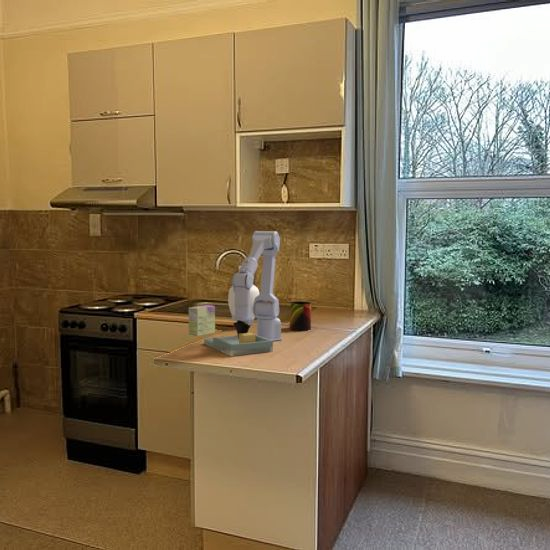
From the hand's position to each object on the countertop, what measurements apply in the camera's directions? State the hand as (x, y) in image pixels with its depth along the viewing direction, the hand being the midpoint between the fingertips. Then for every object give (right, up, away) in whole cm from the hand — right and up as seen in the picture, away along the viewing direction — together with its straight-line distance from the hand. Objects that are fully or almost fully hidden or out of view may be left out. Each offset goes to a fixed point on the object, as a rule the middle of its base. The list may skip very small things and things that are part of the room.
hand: (242, 341), depth 207 cm
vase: (-2, +1, +47) cm, 47 cm away
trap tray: (-2, -3, +4) cm, 5 cm away
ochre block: (+2, -1, -3) cm, 4 cm away
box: (-19, -1, +31) cm, 36 cm away
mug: (+23, 0, +45) cm, 51 cm away
